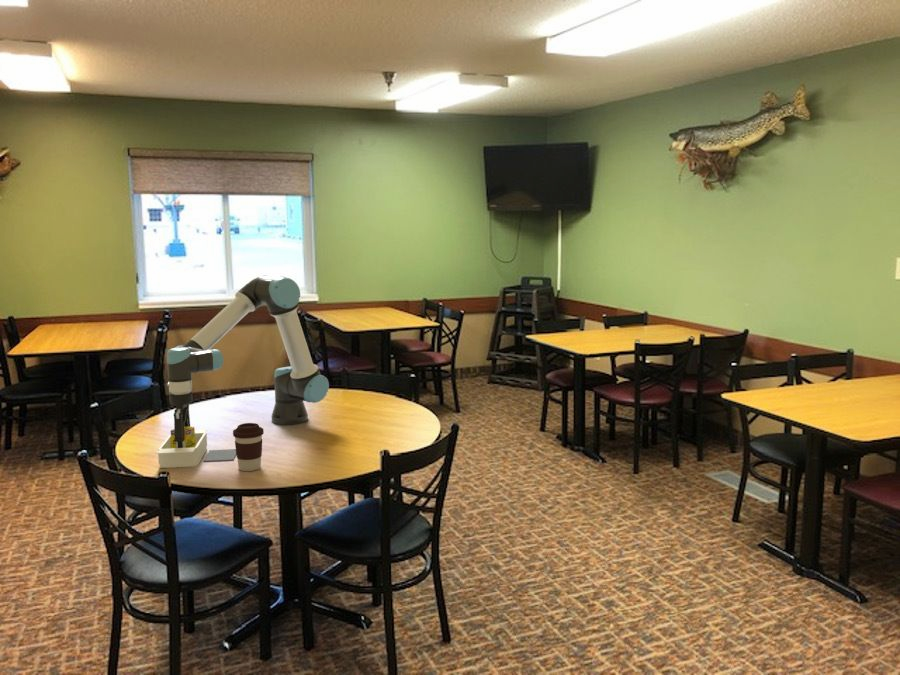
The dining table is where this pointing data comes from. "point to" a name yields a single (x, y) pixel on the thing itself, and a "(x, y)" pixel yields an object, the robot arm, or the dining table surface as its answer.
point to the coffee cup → (248, 446)
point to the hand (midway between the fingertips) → (183, 455)
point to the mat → (220, 455)
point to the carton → (183, 452)
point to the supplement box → (185, 437)
